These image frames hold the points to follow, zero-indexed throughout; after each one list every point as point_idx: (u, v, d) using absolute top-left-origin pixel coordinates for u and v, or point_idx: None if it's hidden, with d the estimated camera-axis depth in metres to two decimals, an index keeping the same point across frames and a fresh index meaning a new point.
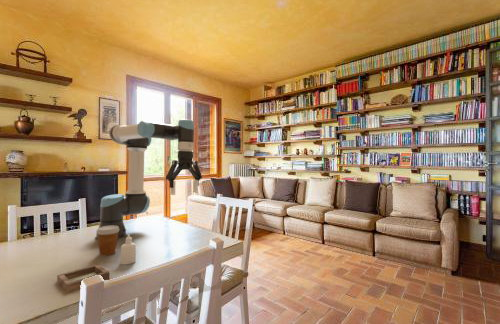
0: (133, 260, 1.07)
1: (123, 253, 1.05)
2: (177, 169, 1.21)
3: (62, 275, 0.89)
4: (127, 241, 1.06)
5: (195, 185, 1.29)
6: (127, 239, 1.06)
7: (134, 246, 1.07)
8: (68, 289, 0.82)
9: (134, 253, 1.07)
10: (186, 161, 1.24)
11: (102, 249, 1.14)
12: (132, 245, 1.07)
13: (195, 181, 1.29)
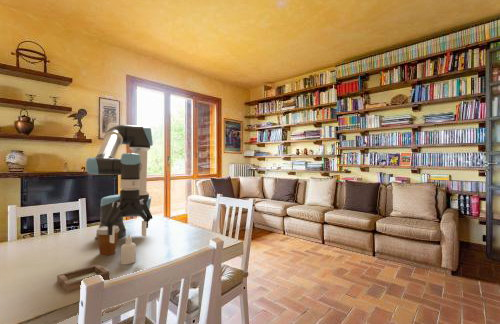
0: (133, 260, 1.07)
1: (123, 253, 1.05)
2: (118, 212, 1.04)
3: (62, 275, 0.89)
4: (127, 241, 1.06)
5: (143, 227, 1.12)
6: (127, 239, 1.06)
7: (134, 246, 1.07)
8: (68, 289, 0.82)
9: (134, 253, 1.07)
10: (130, 201, 1.06)
11: (102, 249, 1.14)
12: (132, 245, 1.07)
13: (143, 223, 1.12)
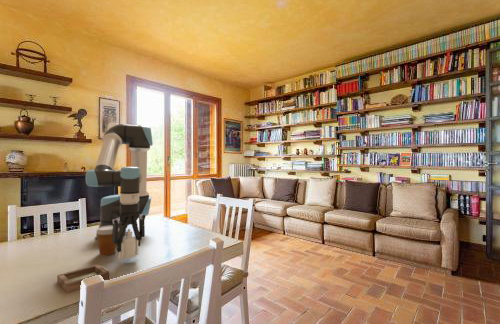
0: (133, 254, 1.08)
1: None
2: (121, 227, 1.05)
3: (62, 275, 0.89)
4: (127, 235, 1.07)
5: None
6: (127, 233, 1.07)
7: (134, 240, 1.08)
8: (68, 289, 0.82)
9: (134, 247, 1.08)
10: (130, 215, 1.07)
11: (102, 249, 1.14)
12: (132, 239, 1.07)
13: None
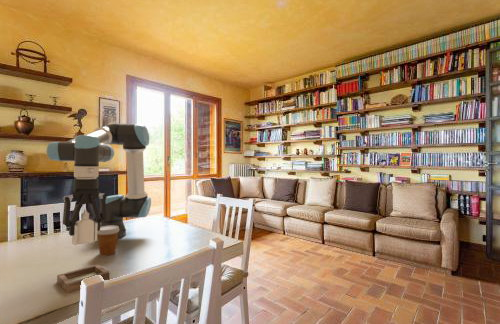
0: (90, 239, 0.91)
1: (77, 231, 0.89)
2: (75, 207, 0.88)
3: (62, 275, 0.89)
4: (83, 217, 0.90)
5: (94, 230, 0.93)
6: (83, 214, 0.90)
7: (92, 223, 0.91)
8: (68, 289, 0.82)
9: (92, 231, 0.91)
10: (86, 192, 0.90)
11: (102, 249, 1.14)
12: (89, 222, 0.90)
13: (94, 225, 0.93)
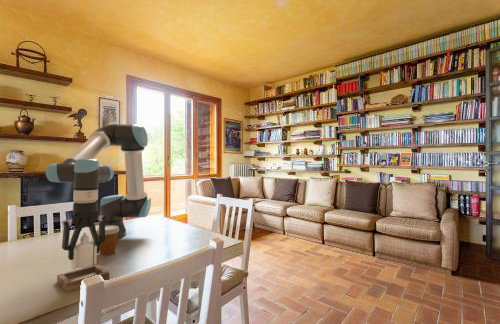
0: (90, 263, 0.91)
1: (77, 254, 0.89)
2: (75, 231, 0.88)
3: (62, 275, 0.89)
4: (82, 240, 0.90)
5: (93, 253, 0.93)
6: (82, 238, 0.90)
7: (91, 246, 0.91)
8: (68, 289, 0.82)
9: (91, 254, 0.91)
10: (86, 216, 0.90)
11: (102, 249, 1.14)
12: (88, 245, 0.90)
13: (93, 247, 0.93)
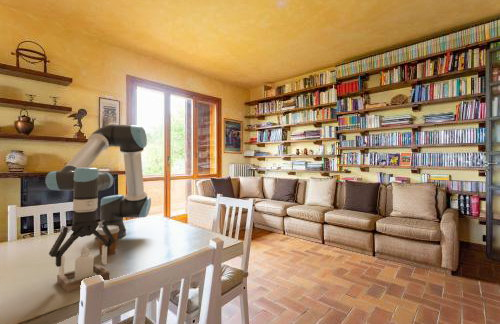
0: None
1: (77, 268, 0.89)
2: (70, 238, 0.87)
3: None
4: (82, 253, 0.90)
5: (103, 254, 0.95)
6: (82, 251, 0.90)
7: (91, 259, 0.91)
8: (68, 289, 0.82)
9: (91, 267, 0.91)
10: (85, 225, 0.90)
11: None
12: (88, 258, 0.91)
13: (103, 248, 0.96)
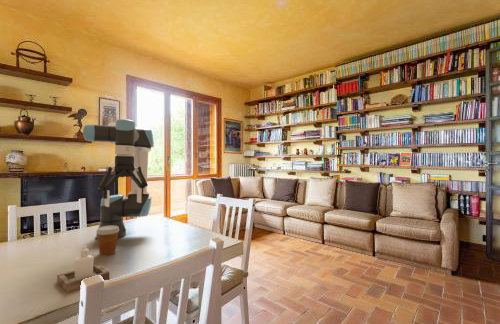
0: None
1: (77, 268, 0.89)
2: (113, 177, 1.05)
3: (62, 275, 0.89)
4: (82, 254, 0.90)
5: (138, 194, 1.14)
6: (82, 251, 0.90)
7: (91, 259, 0.91)
8: (68, 289, 0.82)
9: (91, 268, 0.91)
10: (125, 167, 1.08)
11: (102, 249, 1.14)
12: (88, 258, 0.91)
13: (138, 189, 1.14)
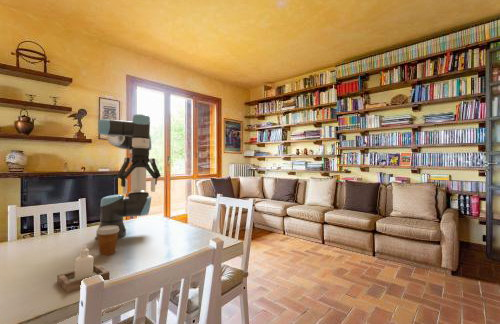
0: None
1: (77, 268, 0.89)
2: (130, 167, 1.15)
3: (62, 275, 0.89)
4: (82, 254, 0.90)
5: (152, 184, 1.23)
6: (82, 251, 0.90)
7: (91, 259, 0.91)
8: (68, 289, 0.82)
9: (91, 268, 0.91)
10: (141, 158, 1.17)
11: (102, 249, 1.14)
12: (88, 258, 0.91)
13: (152, 180, 1.23)
